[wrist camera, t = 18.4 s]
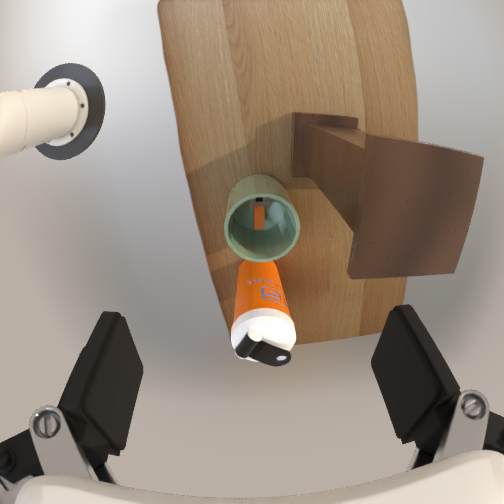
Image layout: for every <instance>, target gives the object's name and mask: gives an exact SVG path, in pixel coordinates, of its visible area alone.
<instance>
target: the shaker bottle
mask: <svg viewBox="0 0 504 504" xmlns="http://www.w3.org/2000/svg"><path fill="white" fill-rule="evenodd" d="M295 341H296V333H295V327H294V323H293V321H292V319H291V317H290V314H289V310H288V306H287V303H286V299H285V295H284V292H283V288H282V285H281V281H280V277H279V274H278V270H277V267H276V264H275V263H274V262H273V261H270V262H253V261H249V260H246V259H245V260H244V261H243V262H242V263H241V265H240V267H239V271H238V281H237V291H236V302H235V312H234V323H233V325H232V328H231V343H232V346H233V348H234V349H235V354H236V355H237V356H238V357H239V358H242V359H248V360H251V361H255V362H261V363H264V364H267V365H270V366H282V365H284V364H287V363H288V362H289V361H290V360H291V354H290V352H289V350H290V349H291V348H292V347H293V345H294V343H295Z"/></svg>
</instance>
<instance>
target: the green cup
mask: <svg viewBox="0 0 504 504" xmlns="http://www.w3.org/2000/svg"><path fill="white" fill-rule="evenodd" d="M256 197H270V198H269V208H265V218H264V229H254V223H253V208H249V200H250V199H253V198H256ZM224 233H225V238H226V240H227V243H228V245H229V246H230V248H231V249H232V250H233V251H234V252H235V253H236V254H237V255H239V256H240V257H242V258H244V259H246V260H249V261H253V262H270V261H273V260H276V259H279V258H281V257H282V256H284V255H285V254H287V253H288V252H289V251H290V250H291V249H292V248H293V246H294V245H295V244H296V241H297V239H298V237H299V233H300V221H299V218H298V214H297V212H296V209H295V207H294V205H293V203H292V201H291V199H290V196H289V194H288V192H287V190H286V189H285V187H284V186H283V185H282V184H281V183H280V182H279V181H278V180H277V179H275V178H273V177H271V176H268V175H263V174H254V175H250V176H247V177H245V178H243V179H241V180H240V181H238V182H237V183H236V184H235V185H234V186H233V188H232V189H231V191H230V194H229V197H228V200H227V207H226V215H225V222H224Z"/></svg>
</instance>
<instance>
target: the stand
mask: <svg viewBox="0 0 504 504" xmlns="http://www.w3.org/2000/svg"><path fill="white" fill-rule="evenodd" d="M357 125H358V118H355V117H348V116H338V115H328V114H315V113H300V112H293V115H292V149H291V176H292V177H311V179H312V180H313V181H314V182H315V183H316V185H317V186H318V187H319V188H320V190H321V191H322V192H323V193H324V195H325V196H326V197H327V198H328V200H329V201H330V202H331V203H332V205H333V206H334V207H335V209H336V210H337V211H338V212H339V214H340V215H341V216H342V218H343V219H344V220H345V222H346V223H347V224H348V226H349V227H350V228H351V230H352V231H353V232H354V236H353V242H352V248H351V253H350V259H349V264H348V269H347V273H348V275H349V277H350V279H372V278H391V277H408V276H424V275H438V274H452V273H454V272H455V269H456V267H457V264H458V261H459V258H460V255H461V252H462V249H463V245H464V242H465V239H466V236H467V232H468V229H469V225H470V222H471V218H472V214H473V210H474V206H475V202H476V197H477V193H478V188H479V184H480V178H481V173H482V167H483V161H484V157H482V156H480V155H477V154H474V153H470V152H466V151H462V150H458V149H453V148H449V147H444V146H439V145H434V144H430V143H425V142H419V141H414V140H408V139H402V138H396V137H389V136H382V135H375V134H371V133H368V132H365V131H362V130H358V129H357Z"/></svg>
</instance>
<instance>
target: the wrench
mask: <svg viewBox="0 0 504 504" xmlns="http://www.w3.org/2000/svg"><path fill="white" fill-rule="evenodd" d="M269 198H270V197H256V198H253V199H250V200H249V208H253V223H254V229H264V218H265V208H269Z"/></svg>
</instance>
